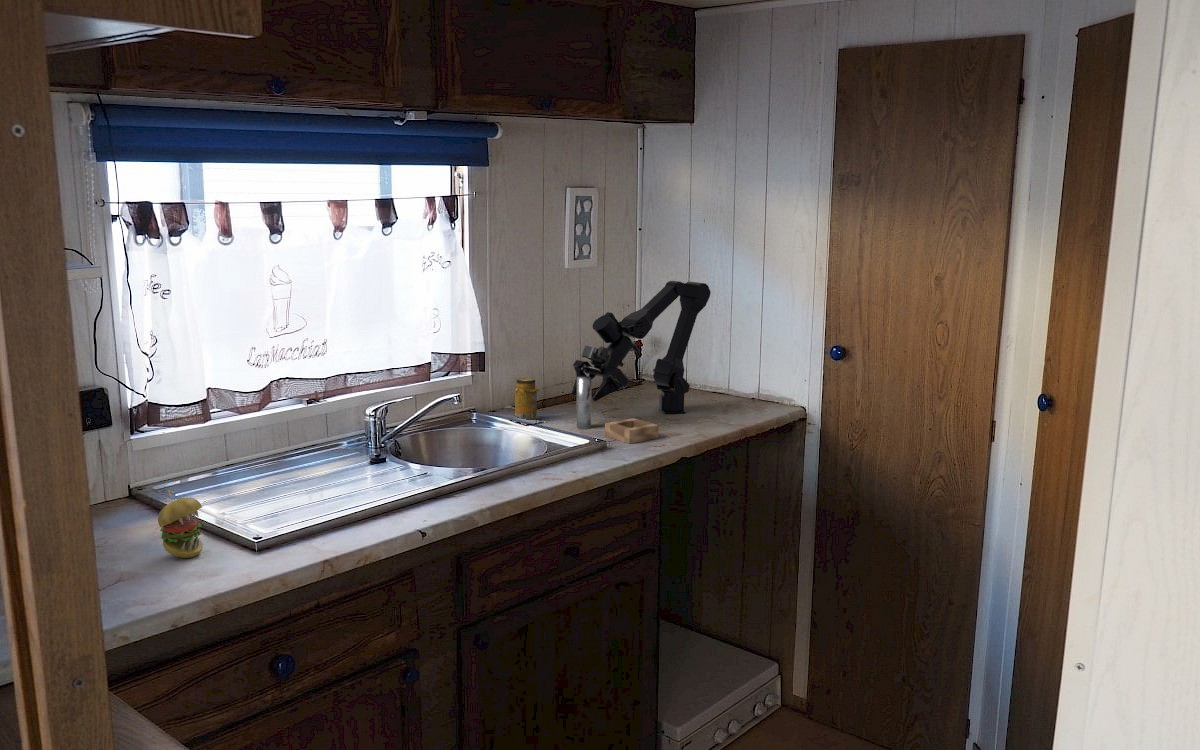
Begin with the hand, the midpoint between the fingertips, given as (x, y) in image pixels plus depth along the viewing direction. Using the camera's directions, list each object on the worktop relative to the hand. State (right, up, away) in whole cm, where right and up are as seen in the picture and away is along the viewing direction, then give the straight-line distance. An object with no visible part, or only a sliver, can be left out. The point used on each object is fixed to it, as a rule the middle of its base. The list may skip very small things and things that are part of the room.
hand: (583, 397), depth 279 cm
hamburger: (-70, -26, -96) cm, 122 cm away
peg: (0, -8, +2) cm, 9 cm away
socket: (+13, -10, -8) cm, 19 cm away
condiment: (-16, -7, +8) cm, 19 cm away
